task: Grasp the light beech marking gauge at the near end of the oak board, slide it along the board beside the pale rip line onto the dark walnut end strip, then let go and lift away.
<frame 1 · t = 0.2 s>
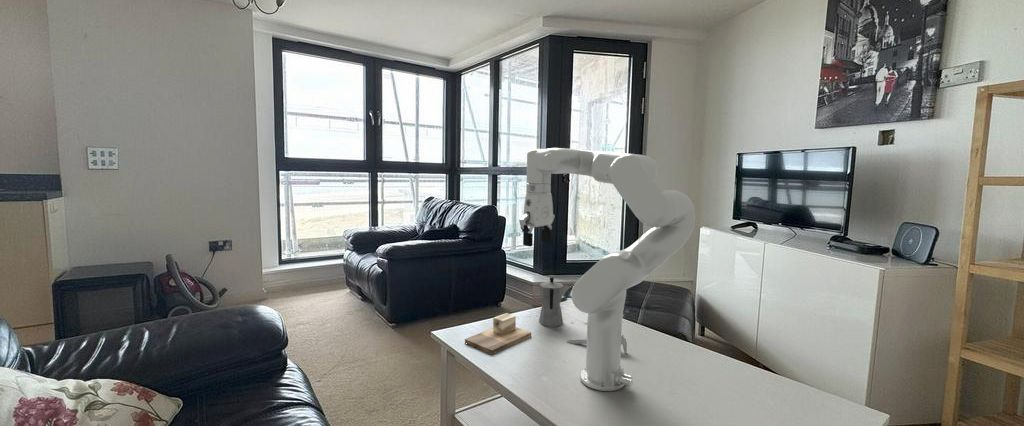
hand: (537, 243, 132), 36 cm above the table, tool pointing down, fingers open, 9 cm apart
coffeepot: (550, 323, 163), on the table
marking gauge: (504, 330, 152), point 1 cm above the table, touching board
caliper: (595, 348, 142), on the table
board: (498, 339, 147), on the table
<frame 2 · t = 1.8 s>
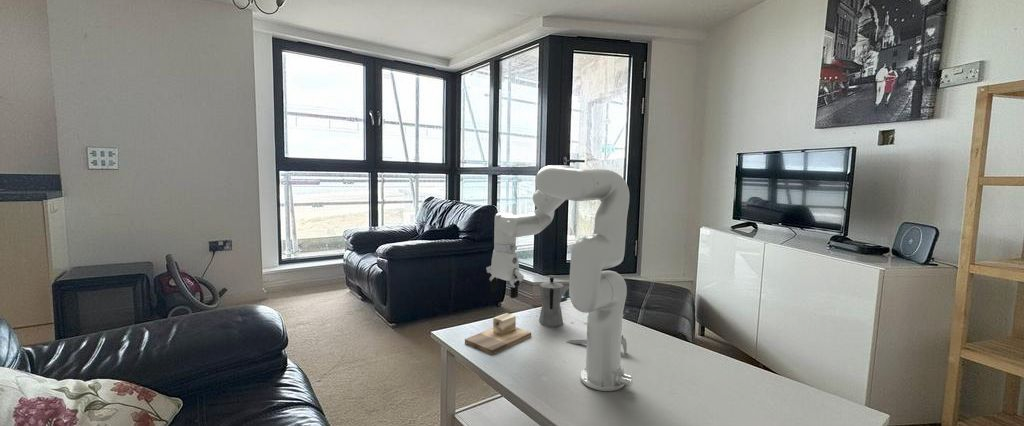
hand: (504, 294, 151), 15 cm above the table, tool pointing down, fingers open, 9 cm apart
nothing on the table moved.
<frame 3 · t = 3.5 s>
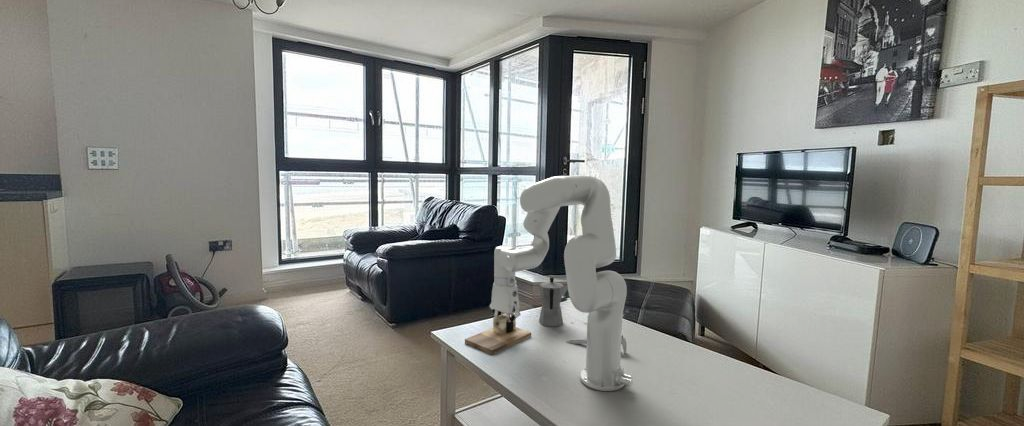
hand: (504, 329, 152), 2 cm above the table, tool pointing down, fingers closed on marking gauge, 4 cm apart
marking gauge: (504, 330, 152), point 2 cm above the table, touching board, gripper
everything else where it was.
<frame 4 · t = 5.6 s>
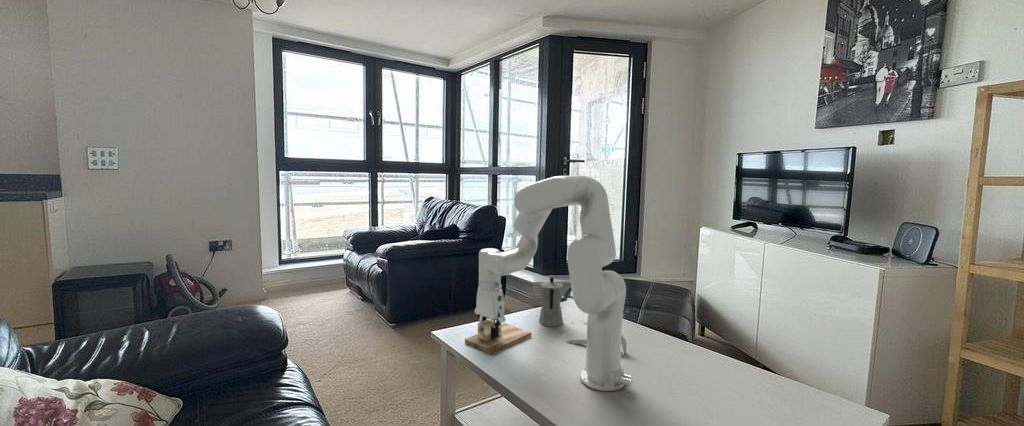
hand: (489, 334, 146), 2 cm above the table, tool pointing down, fingers closed on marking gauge, 4 cm apart
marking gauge: (489, 336, 147), point 2 cm above the table, touching gripper
everything else where it was.
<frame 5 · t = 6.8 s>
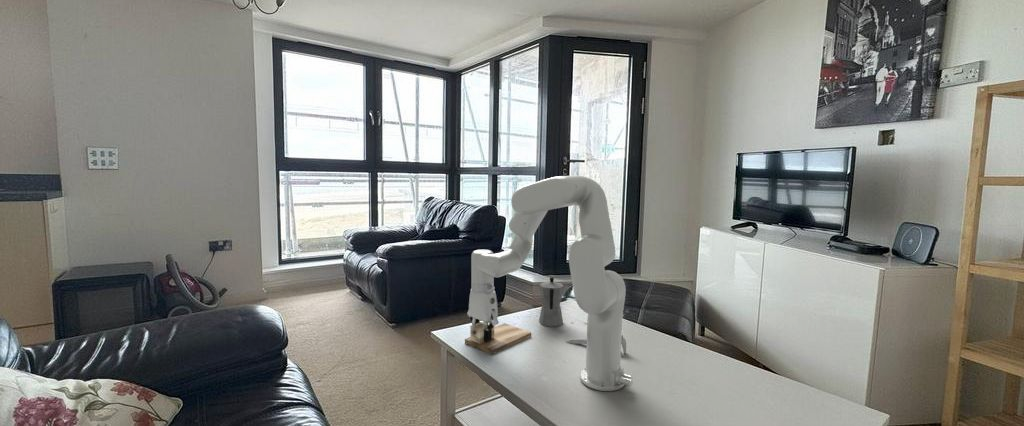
hand: (482, 337, 144), 2 cm above the table, tool pointing down, fingers closed on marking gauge, 4 cm apart
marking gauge: (482, 338, 144), point 2 cm above the table, touching board, gripper
everything else where it was.
when the fingers open (2 cm above the table, at t = 7.5 s): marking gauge stays where it is, resting on board.
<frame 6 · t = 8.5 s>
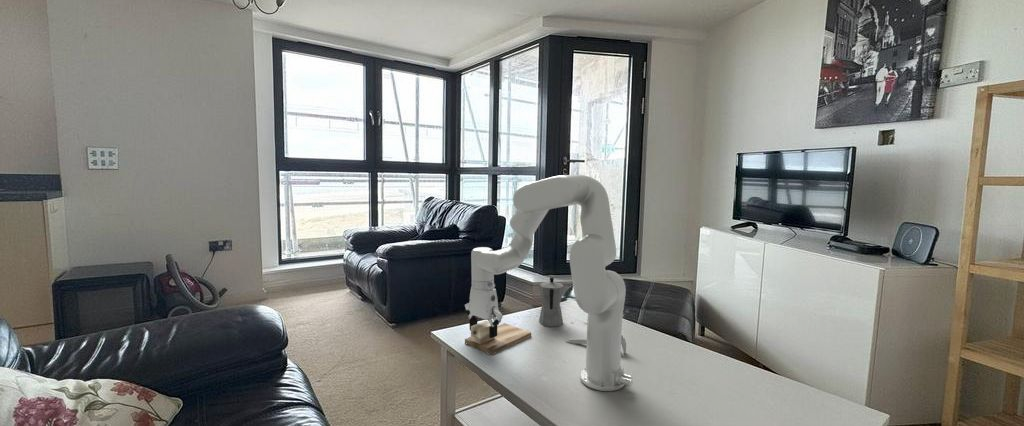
hand: (483, 333, 143), 4 cm above the table, tool pointing down, fingers open, 9 cm apart
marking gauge: (482, 339, 144), point 1 cm above the table, touching board
everything else where it was.
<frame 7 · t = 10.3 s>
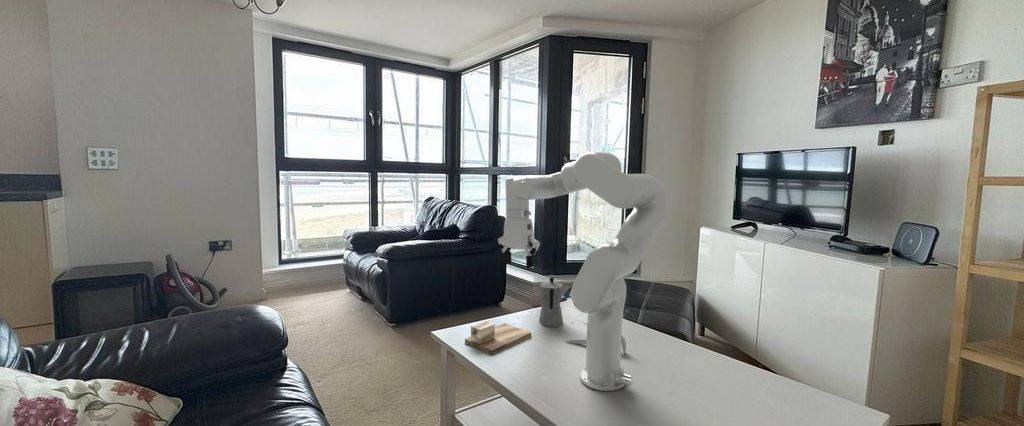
hand: (518, 265, 140), 28 cm above the table, tool pointing down, fingers open, 9 cm apart
nothing on the table moved.
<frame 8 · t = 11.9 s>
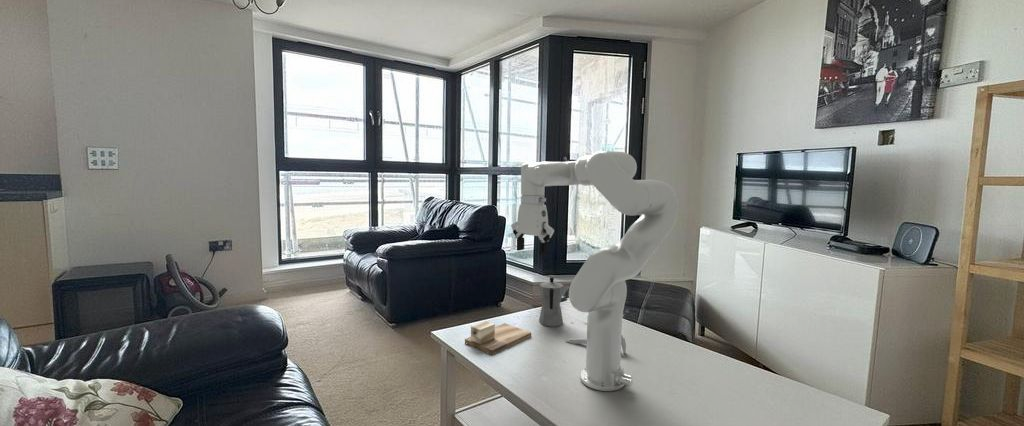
hand: (531, 251, 139), 32 cm above the table, tool pointing down, fingers open, 9 cm apart
nothing on the table moved.
at the end: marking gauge 0.6 cm from the target spot, point 1.5 cm above the table; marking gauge touching board; the gripper is holding nothing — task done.
